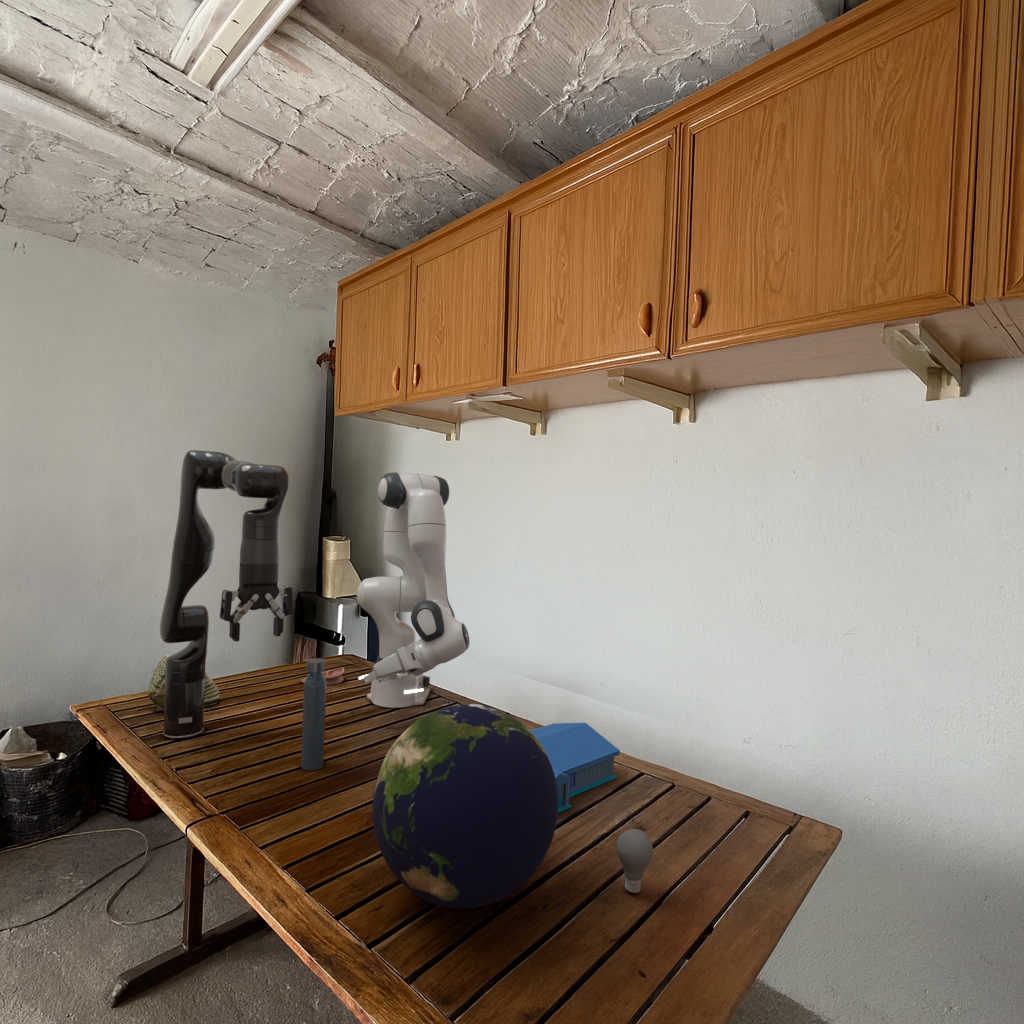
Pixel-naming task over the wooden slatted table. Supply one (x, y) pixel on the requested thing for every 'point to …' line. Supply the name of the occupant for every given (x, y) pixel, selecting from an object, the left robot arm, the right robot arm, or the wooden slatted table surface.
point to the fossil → (158, 687)
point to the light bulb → (634, 857)
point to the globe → (465, 806)
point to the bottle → (313, 721)
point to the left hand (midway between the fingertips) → (256, 638)
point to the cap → (315, 665)
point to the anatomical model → (332, 676)
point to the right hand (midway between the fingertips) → (371, 680)
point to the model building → (576, 758)
